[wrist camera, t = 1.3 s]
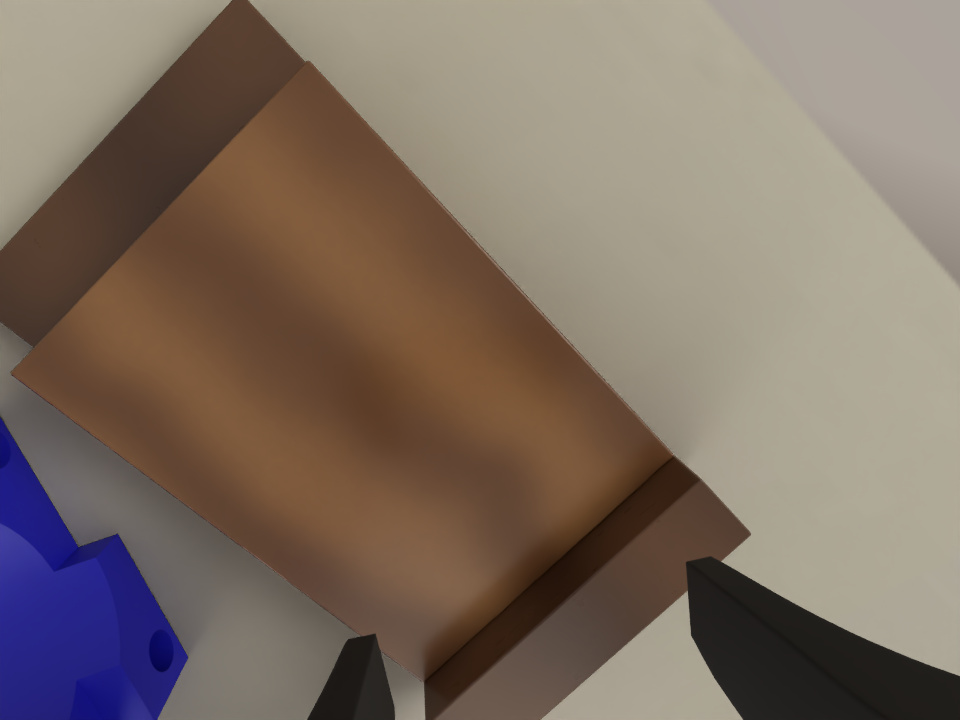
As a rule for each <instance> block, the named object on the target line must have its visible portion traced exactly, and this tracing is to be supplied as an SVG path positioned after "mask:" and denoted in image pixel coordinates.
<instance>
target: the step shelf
mask: <svg viewBox="0 0 960 720" xmlns="http://www.w3.org/2000/svg"><path fill="white" fill-rule="evenodd" d="M0 322H1V323H3V324H4V325H5V326H7V327H8V328H9V329H11V330H12V331H13V332H14V333H16V334H17V335H18V336H20V337H21V338H22V339H24V340H25V341H26V342H27V343H29V344H30V345H31V346H33V347H34V348H33V349H32V350H31V351H30V352H29V353H28V354H27V355H26V357H25V358H24V359H23V360H22V361H21V362H20V363H19V364H18V365H17V366H16V367H15V368H14V369H13V370H12V371H11V375H12V376H14V377H15V378H16V379H18V380H19V381H20V382H22V383H23V384H24V385H26V386H27V387H28V388H30V389H31V390H32V391H34V392H35V393H36V394H38V395H39V396H40V397H42V398H43V399H44V400H46V401H47V402H48V403H50V404H51V405H52V406H54V407H55V408H56V409H58V410H59V411H60V412H62V413H63V414H64V415H66V416H67V417H68V418H70V419H71V420H72V421H74V422H75V423H76V424H78V425H79V426H80V427H82V428H83V429H84V430H86V431H87V432H88V433H90V434H91V435H93V436H94V437H95V438H97V439H98V440H99V441H101V442H102V443H103V444H105V445H106V446H107V447H109V448H110V449H111V450H113V451H114V452H115V453H117V454H118V455H119V456H121V457H122V458H123V459H125V460H126V461H127V462H129V463H130V464H131V465H133V466H134V467H135V468H137V469H138V470H139V471H141V472H142V473H143V474H145V475H146V476H147V477H149V478H150V479H151V480H153V481H154V482H155V483H157V484H158V485H159V486H161V487H162V488H163V489H165V490H166V491H167V492H169V493H170V494H171V495H173V496H174V497H175V498H177V499H178V500H179V501H181V502H182V503H183V504H185V505H186V506H188V507H189V508H190V509H192V510H193V511H194V512H196V513H197V514H198V515H200V516H201V517H202V518H204V519H205V520H206V521H208V522H209V523H210V524H212V525H213V526H214V527H216V528H217V529H218V530H220V531H221V532H222V533H224V534H225V535H226V536H228V537H229V538H230V539H232V540H233V541H234V542H236V543H237V544H238V545H240V546H241V547H242V548H244V549H245V550H246V551H248V552H249V553H250V554H252V555H253V556H254V557H256V558H257V559H258V560H260V561H261V562H262V563H264V564H265V565H266V566H268V567H269V568H270V569H272V570H273V571H274V572H276V573H277V574H278V575H280V576H281V577H283V578H284V579H285V580H287V581H288V582H289V583H291V584H292V585H293V586H295V587H296V588H297V589H299V590H300V591H301V592H303V593H304V594H305V595H307V596H308V597H309V598H311V599H312V600H313V601H315V602H316V603H317V604H319V605H320V606H321V607H323V608H324V609H325V610H327V611H328V612H329V613H331V614H332V615H333V616H335V617H336V618H337V619H339V620H340V621H341V622H343V623H344V624H345V625H347V626H348V627H349V628H351V629H352V630H353V631H355V632H356V633H357V634H359V635H360V636H361V637H362V636H366V635H370V634H375V633H376V637H377V641H378V645H379V648H380V651H382V652H383V653H384V654H386V655H387V656H388V657H390V658H391V659H392V660H394V661H395V662H396V663H398V664H399V665H400V666H402V667H403V668H404V669H406V670H407V671H408V672H410V673H411V674H412V675H414V676H415V677H416V678H418V679H419V680H420V681H422V682H424V694H425V720H541V719H542V718H543V717H544V716H545V715H546V714H548V713H549V712H550V711H551V710H552V709H553V708H554V707H555V706H557V705H558V704H559V703H560V702H561V701H562V700H563V699H565V698H566V697H567V696H568V695H569V694H570V693H571V692H573V691H574V690H575V689H576V688H577V687H578V686H579V685H581V684H582V683H583V682H584V681H585V680H586V679H587V678H589V677H590V676H591V675H592V674H593V673H594V672H595V671H597V670H598V669H599V668H600V667H601V666H602V665H603V664H605V663H606V662H607V661H608V660H609V659H610V658H611V657H612V656H614V655H615V654H616V653H617V652H618V651H619V650H620V649H622V648H623V647H624V646H625V645H626V644H627V643H628V642H630V641H631V640H632V639H633V638H634V637H635V636H636V635H638V634H639V633H640V632H641V631H642V630H643V629H644V628H646V627H647V626H648V625H649V624H650V623H651V622H652V621H654V620H655V619H656V618H657V617H658V616H659V615H660V614H662V613H663V612H664V611H665V610H666V609H667V608H668V607H669V606H671V605H672V604H673V603H674V602H675V601H676V600H677V599H679V598H680V597H681V596H682V595H683V594H684V593H685V592H687V591H688V585H687V572H686V562H687V561H692V560H696V559H700V558H705V557H709V556H711V557H713V558H715V559H717V560H719V561H722V560H723V559H724V558H725V557H726V556H728V555H729V554H730V553H731V552H732V551H733V550H734V549H736V548H737V547H738V546H739V545H740V544H741V543H742V542H744V541H745V540H746V539H747V538H748V537H749V536H750V535H751V533H750V531H749V530H748V529H747V528H746V527H745V526H744V525H743V524H742V523H741V522H740V520H739V519H738V518H737V517H736V516H735V515H734V514H733V513H732V512H731V511H730V510H729V508H728V507H727V506H726V505H725V504H724V503H723V502H722V501H721V500H720V499H719V498H718V497H717V495H716V494H715V493H714V492H713V491H712V490H711V489H710V488H709V487H708V486H707V485H706V484H705V482H704V481H703V480H702V479H701V478H700V477H698V476H697V475H696V474H695V473H694V472H693V471H692V470H690V469H689V468H688V467H687V466H686V465H685V464H684V463H682V462H681V461H680V460H679V459H678V458H677V457H676V456H674V455H673V453H672V452H671V451H670V450H669V449H668V448H667V447H666V446H665V445H664V444H663V442H662V441H661V440H660V439H659V438H658V437H657V436H656V435H655V434H654V433H653V432H652V431H651V429H650V428H649V427H648V426H647V425H646V424H645V423H644V422H643V421H642V420H641V419H640V418H639V416H638V415H637V414H636V413H635V412H634V411H633V410H632V409H631V408H630V407H629V406H628V405H627V404H626V402H625V401H624V400H623V399H622V398H621V397H620V396H619V395H618V394H617V393H616V392H615V391H614V389H613V388H612V387H611V386H610V385H609V384H608V383H607V382H606V381H605V380H604V379H603V378H602V376H601V375H600V374H599V373H598V372H597V371H596V370H595V369H594V368H593V367H592V366H591V365H590V364H589V362H588V361H587V360H586V359H585V358H584V357H583V356H582V355H581V354H580V353H579V352H578V351H577V349H576V348H575V347H574V346H573V345H572V344H571V343H570V342H569V341H568V340H567V339H566V338H565V336H564V335H563V334H562V333H561V332H560V331H559V330H558V329H557V328H556V327H555V326H554V325H553V324H552V322H551V321H550V320H549V319H548V318H547V317H546V316H545V315H544V314H543V313H542V312H541V311H540V309H539V308H538V307H537V306H536V305H535V304H534V303H533V302H532V301H531V300H530V299H529V298H528V296H527V295H526V294H525V293H524V292H523V291H522V290H521V289H520V288H519V287H518V286H517V285H516V284H515V282H514V281H513V280H512V279H511V278H510V277H509V276H508V275H507V274H506V273H505V272H504V271H503V269H502V268H501V267H500V266H499V265H498V264H497V263H496V262H495V261H494V260H493V259H492V258H491V256H490V255H489V254H488V253H487V252H486V251H485V250H484V249H483V248H482V247H481V246H480V245H479V244H478V242H477V241H476V240H475V239H474V238H473V237H472V236H471V235H470V234H469V233H468V232H467V231H466V229H465V228H464V227H463V226H462V225H461V224H460V223H459V222H458V221H457V220H456V219H455V218H454V216H453V215H452V214H451V213H450V212H449V211H448V210H447V209H446V208H445V207H444V206H443V205H442V204H441V202H440V201H439V200H438V199H437V198H436V197H435V196H434V195H433V194H432V193H431V192H430V191H429V189H428V188H427V187H426V186H425V185H424V184H423V183H422V182H421V181H420V180H419V179H418V178H417V176H416V175H415V174H414V173H413V172H412V171H411V170H410V169H409V168H408V167H407V166H406V165H405V164H404V162H403V161H402V160H401V159H400V158H399V157H398V156H397V155H396V154H395V153H394V152H393V151H392V149H391V148H390V147H389V146H388V145H387V144H386V143H385V142H384V141H383V140H382V139H381V138H380V136H379V135H378V134H377V133H376V132H375V131H374V130H373V129H372V128H371V127H370V126H369V125H368V124H367V122H366V121H365V120H364V119H363V118H362V117H361V116H360V115H359V114H358V113H357V112H356V111H355V109H354V108H353V107H352V106H351V105H350V104H349V103H348V102H347V101H346V100H345V99H344V98H343V96H342V95H341V94H340V93H339V92H338V91H337V90H336V89H335V88H334V87H333V86H332V85H331V84H330V82H329V81H328V80H327V79H326V78H325V77H324V76H323V75H322V74H321V73H320V72H319V71H318V69H317V68H316V67H315V66H314V65H313V64H312V63H311V62H310V61H306V62H305V61H304V60H303V59H302V58H301V57H300V56H299V55H298V54H297V53H296V51H295V50H294V49H293V48H292V47H291V46H290V45H289V44H288V43H287V42H286V41H285V40H284V39H283V37H282V36H281V35H280V34H279V33H278V32H277V31H276V30H275V29H274V28H273V27H272V26H271V25H270V23H269V22H268V21H267V20H266V19H265V18H264V17H263V16H262V15H261V14H260V13H259V12H258V11H257V9H256V8H255V7H254V6H253V5H252V4H251V3H250V2H249V1H248V0H232V1H231V2H230V3H229V5H228V6H227V7H226V8H225V9H224V10H223V11H222V12H221V13H220V14H219V15H218V16H217V18H216V19H215V20H214V21H213V22H212V23H211V24H210V25H209V26H208V27H207V28H206V29H205V30H204V32H203V33H202V34H201V35H200V36H199V37H198V38H197V39H196V40H195V41H194V42H193V43H192V45H191V46H190V47H189V48H188V49H187V50H186V51H185V52H184V53H183V54H182V55H181V56H180V57H179V59H178V60H177V61H176V62H175V63H174V64H173V65H172V66H171V67H170V68H169V69H168V70H167V71H166V73H165V74H164V75H163V76H162V77H161V78H160V79H159V80H158V81H157V82H156V83H155V84H154V86H153V87H152V88H151V89H150V90H149V91H148V92H147V93H146V94H145V95H144V96H143V97H142V98H141V100H140V101H139V102H138V103H137V104H136V105H135V106H134V107H133V108H132V109H131V110H130V111H129V113H128V114H127V115H126V116H125V117H124V118H123V119H122V120H121V121H120V122H119V123H118V124H117V125H116V127H115V128H114V129H113V130H112V131H111V132H110V133H109V134H108V135H107V136H106V137H105V138H104V140H103V141H102V142H101V143H100V144H99V145H98V146H97V147H96V148H95V149H94V150H93V151H92V152H91V154H90V155H89V156H88V157H87V158H86V159H85V160H84V161H83V162H82V163H81V164H80V165H79V167H78V168H77V169H76V170H75V171H74V172H73V173H72V174H71V175H70V176H69V177H68V178H67V179H66V181H65V182H64V183H63V184H62V185H61V186H60V187H59V188H58V189H57V190H56V191H55V192H54V194H53V195H52V196H51V197H50V198H49V199H48V200H47V201H46V202H45V203H44V204H43V205H42V206H41V208H40V209H39V210H38V211H37V212H36V213H35V214H34V215H33V216H32V217H31V218H30V219H29V220H28V222H27V223H26V224H25V225H24V226H23V227H22V228H21V229H20V230H19V231H18V232H17V233H16V235H15V236H14V237H13V238H12V239H11V240H10V241H9V242H8V243H7V244H6V245H5V246H4V247H3V249H2V250H1V251H0Z"/></svg>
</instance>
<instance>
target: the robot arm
mask: <svg viewBox="0 0 960 720" xmlns="http://www.w3.org/2000/svg"><path fill="white" fill-rule="evenodd" d="M686 572H687V585H688V599H689V612H690V626H691V636H692V638H693V640H694V641H695V643H696V645H697V647H698V649H699V651H700V653H701V655H702V656H703V658H704V660H705V662H706V664H707V666H708V667H709V669H710V671H711V673H712V674H713V676H714V678H715V680H716V681H717V683H718V684H719V685H720V687H721V688H722V690H723V691H724V693H725V694H726V696H727V697H728V698H729V700H730V701H731V703H732V704H733V706H734V707H735V709H736V710H737V711H738V713H739V714H740V716H741V717H742V718H743V720H960V676H958V675H955V674H952V673H949V672H946V671H944V670H941V669H938V668H935V667H932V666H930V665H927V664H924V663H922V662H919V661H917V660H914V659H911V658H909V657H906V656H904V655H902V654H899V653H897V652H894V651H892V650H890V649H887V648H885V647H883V646H880V645H878V644H875V643H873V642H871V641H868V640H866V639H864V638H862V637H860V636H858V635H855V634H853V633H851V632H849V631H847V630H845V629H843V628H841V627H839V626H837V625H835V624H833V623H831V622H829V621H827V620H825V619H823V618H821V617H819V616H817V615H815V614H813V613H811V612H809V611H807V610H805V609H803V608H802V607H800V606H798V605H796V604H794V603H792V602H790V601H789V600H787V599H785V598H783V597H781V596H780V595H778V594H776V593H774V592H773V591H771V590H769V589H767V588H766V587H764V586H762V585H760V584H759V583H757V582H755V581H753V580H752V579H750V578H748V577H747V576H745V575H743V574H741V573H740V572H738V571H736V570H735V569H733V568H731V567H729V566H728V565H726V564H724V563H722V562H721V561H719V560H717V559H715V558H713V557H711V556H709V557H705V558H700V559H696V560H692V561H687V562H686ZM307 720H395V710H394V704H393V700H392V696H391V692H390V688H389V684H388V680H387V676H386V672H385V668H384V664H383V660H382V656H381V652H380V648H379V645H378V641H377V637H376V633H375V634H370V635H366V636H362V637H357V638H353V639H349V640H348V641H347V642H346V643H345V645H344V647H343V649H342V651H341V653H340V655H339V657H338V660H337V662H336V664H335V666H334V668H333V670H332V672H331V674H330V676H329V679H328V681H327V683H326V685H325V687H324V689H323V691H322V693H321V695H320V696H319V698H318V700H317V702H316V704H315V706H314V708H313V710H312V711H311V713H310V715H309V717H308V719H307Z"/></svg>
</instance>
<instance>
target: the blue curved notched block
mask: <svg viewBox="0 0 960 720" xmlns="http://www.w3.org/2000/svg"><path fill="white" fill-rule="evenodd" d="M187 659H188V656H187V654H186V653H185V651H184V649H183V647H182V646H181V644H180V642H179V640H178V639H177V637H176V635H175V633H174V632H173V630H172V628H171V626H170V625H169V623H168V621H167V619H166V618H165V616H164V614H163V612H162V611H161V609H160V607H159V605H158V604H157V602H156V600H155V598H154V597H153V595H152V593H151V591H150V590H149V588H148V586H147V584H146V583H145V581H144V579H143V577H142V576H141V574H140V572H139V570H138V569H137V567H136V565H135V563H134V562H133V560H132V558H131V556H130V555H129V553H128V551H127V549H126V548H125V546H124V544H123V542H122V541H121V539H120V537H119V535H118V534H116V535H113V536H110V537H107V538H104V539H102V540H99V541H96V542H93V543H90V544H87V545H84V546H81V547H78V546H77V544H76V542H75V541H74V539H73V537H72V536H71V534H70V532H69V531H68V529H67V527H66V526H65V524H64V522H63V521H62V519H61V517H60V516H59V514H58V512H57V511H56V509H55V507H54V506H53V504H52V502H51V501H50V499H49V497H48V496H47V494H46V492H45V491H44V489H43V487H42V486H41V484H40V482H39V481H38V479H37V477H36V476H35V474H34V472H33V471H32V469H31V467H30V466H29V464H28V462H27V461H26V459H25V457H24V456H23V454H22V452H21V451H20V449H19V447H18V446H17V444H16V442H15V441H14V439H13V437H12V436H11V434H10V432H9V431H8V429H7V427H6V426H5V424H4V422H3V421H2V419H1V417H0V720H157V719H158V717H159V715H160V713H161V711H162V709H163V707H164V705H165V703H166V701H167V699H168V697H169V695H170V693H171V691H172V689H173V687H174V685H175V683H176V681H177V679H178V677H179V675H180V673H181V671H182V669H183V667H184V665H185V663H186V661H187Z"/></svg>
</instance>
